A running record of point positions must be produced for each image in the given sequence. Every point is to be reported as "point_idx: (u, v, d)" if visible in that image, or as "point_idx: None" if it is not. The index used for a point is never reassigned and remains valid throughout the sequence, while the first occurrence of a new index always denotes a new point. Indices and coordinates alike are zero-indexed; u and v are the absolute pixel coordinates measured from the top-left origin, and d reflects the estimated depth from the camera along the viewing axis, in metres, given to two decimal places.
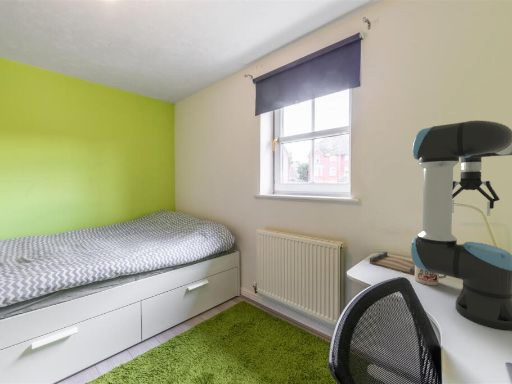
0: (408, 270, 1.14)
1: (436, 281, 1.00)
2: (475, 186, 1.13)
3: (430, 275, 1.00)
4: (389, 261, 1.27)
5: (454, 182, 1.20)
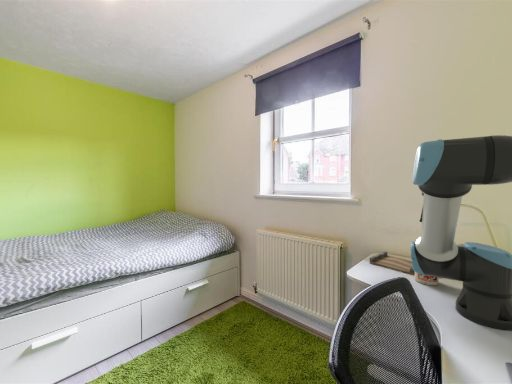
0: (408, 270, 1.14)
1: (436, 281, 1.00)
2: None
3: None
4: (389, 261, 1.27)
5: None
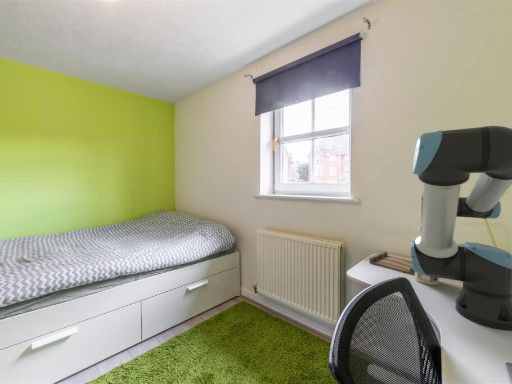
0: (408, 270, 1.14)
1: (436, 281, 1.00)
2: None
3: None
4: (389, 261, 1.27)
5: None
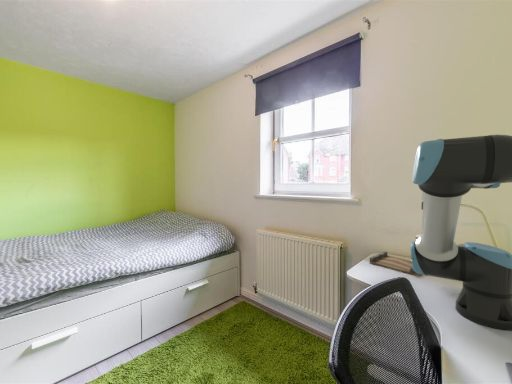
0: (408, 270, 1.14)
1: None
2: None
3: None
4: (389, 261, 1.27)
5: None
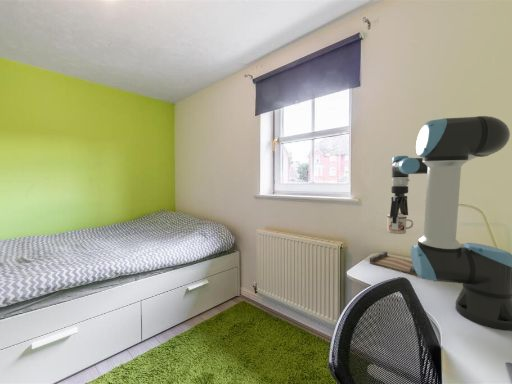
0: (408, 270, 1.14)
1: (403, 230, 1.21)
2: None
3: (399, 225, 1.20)
4: (389, 261, 1.27)
5: None
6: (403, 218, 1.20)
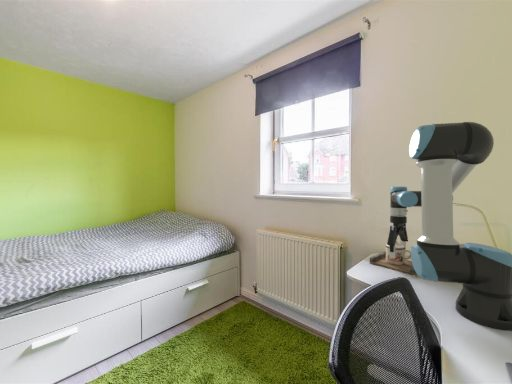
0: (408, 270, 1.14)
1: (402, 261, 1.22)
2: None
3: (397, 256, 1.21)
4: None
5: None
6: (401, 249, 1.21)
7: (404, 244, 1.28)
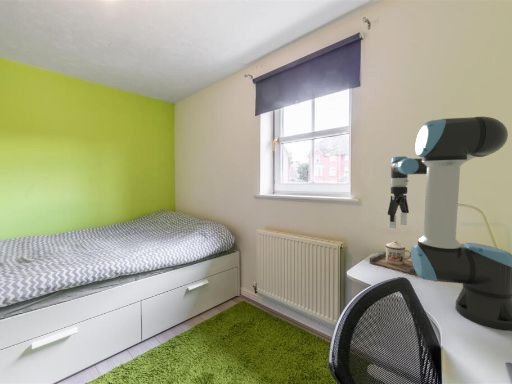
0: (408, 270, 1.14)
1: (402, 261, 1.22)
2: None
3: (397, 256, 1.21)
4: None
5: None
6: (401, 249, 1.21)
7: (405, 215, 1.27)
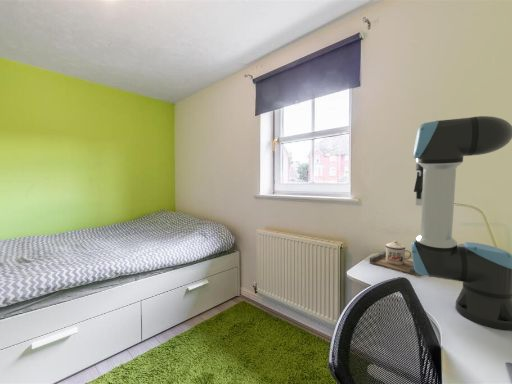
0: (408, 270, 1.14)
1: (402, 261, 1.22)
2: None
3: (397, 256, 1.21)
4: None
5: None
6: (401, 249, 1.21)
7: None
